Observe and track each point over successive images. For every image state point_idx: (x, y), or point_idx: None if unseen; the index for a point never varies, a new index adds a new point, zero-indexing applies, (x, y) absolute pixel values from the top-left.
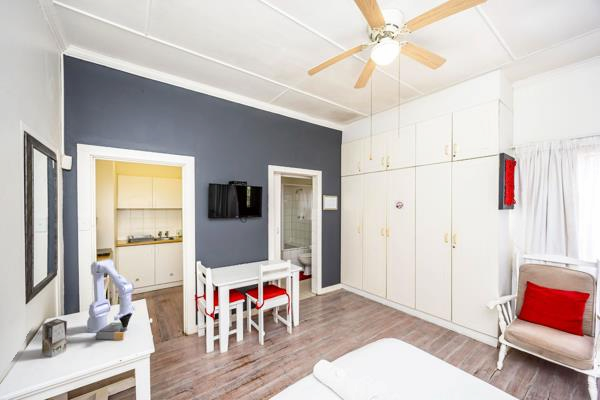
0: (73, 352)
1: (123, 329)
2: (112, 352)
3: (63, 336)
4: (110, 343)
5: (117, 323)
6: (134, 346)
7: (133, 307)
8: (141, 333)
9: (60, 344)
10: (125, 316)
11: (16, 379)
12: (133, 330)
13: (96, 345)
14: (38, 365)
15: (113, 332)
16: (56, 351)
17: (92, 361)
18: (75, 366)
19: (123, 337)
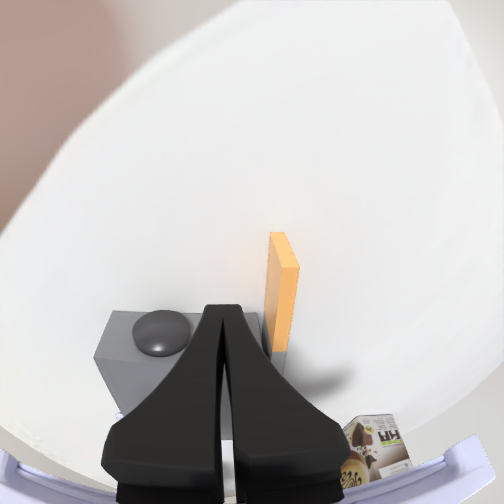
0: (380, 388)
1: (157, 329)
2: (446, 192)
3: (386, 473)
4: (326, 294)
5: (131, 409)
6: (389, 55)
7: (3, 496)
8: (139, 128)
9: (384, 446)
10: (293, 475)
11: (471, 384)
12: (102, 255)
13: (337, 354)
14: (426, 403)
15: (279, 359)
16: (387, 427)
17: (489, 247)
18: (493, 291)
19: (281, 239)
